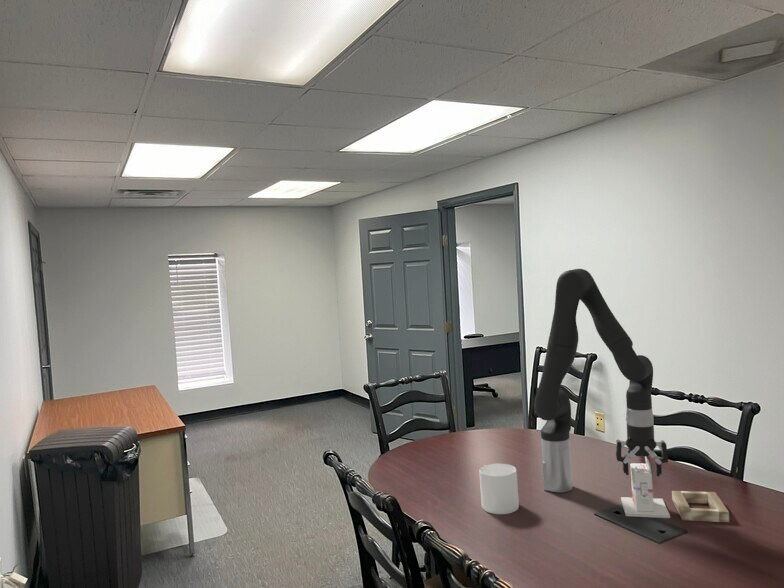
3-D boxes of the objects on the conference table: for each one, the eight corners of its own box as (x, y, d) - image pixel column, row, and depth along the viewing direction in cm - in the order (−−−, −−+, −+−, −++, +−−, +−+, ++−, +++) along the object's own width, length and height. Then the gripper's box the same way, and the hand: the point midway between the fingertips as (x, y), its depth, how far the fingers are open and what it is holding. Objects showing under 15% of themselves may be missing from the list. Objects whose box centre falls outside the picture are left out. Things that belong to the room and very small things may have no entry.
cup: (520, 500, 184) (518, 464, 183) (516, 515, 173) (514, 477, 172) (484, 498, 188) (482, 462, 187) (478, 513, 177) (476, 475, 176)
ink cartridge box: (631, 499, 176) (628, 453, 176) (648, 500, 175) (645, 453, 174) (636, 511, 168) (633, 462, 167) (654, 512, 167) (651, 462, 166)
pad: (625, 516, 167) (625, 513, 167) (621, 499, 179) (620, 497, 179) (670, 518, 164) (670, 515, 164) (662, 501, 175) (662, 498, 175)
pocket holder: (682, 520, 162) (681, 509, 162) (672, 500, 176) (671, 490, 175) (729, 522, 159) (728, 511, 159) (715, 501, 172) (714, 492, 172)
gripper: (616, 425, 169) (618, 478, 169) (668, 426, 165) (670, 480, 166) (613, 418, 176) (615, 469, 177) (663, 419, 172) (665, 471, 173)
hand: (642, 475), depth 171 cm, fingers open, 8 cm apart
